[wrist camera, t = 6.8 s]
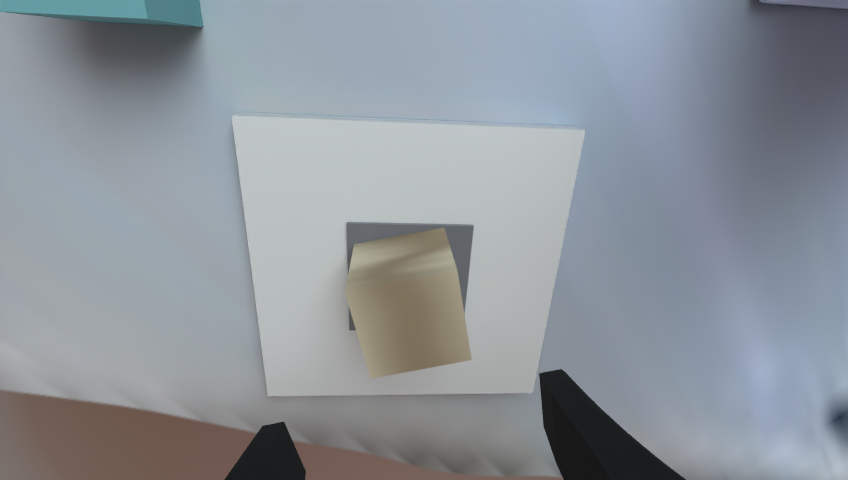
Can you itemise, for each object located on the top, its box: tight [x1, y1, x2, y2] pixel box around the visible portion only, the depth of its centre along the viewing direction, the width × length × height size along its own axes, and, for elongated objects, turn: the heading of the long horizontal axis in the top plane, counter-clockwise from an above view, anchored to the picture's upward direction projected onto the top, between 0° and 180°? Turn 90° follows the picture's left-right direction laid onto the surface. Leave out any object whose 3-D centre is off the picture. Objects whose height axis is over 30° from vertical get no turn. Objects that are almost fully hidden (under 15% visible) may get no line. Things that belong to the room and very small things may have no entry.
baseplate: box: [232, 112, 586, 396], centre depth 20 cm, size 14×14×1 cm
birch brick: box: [345, 227, 472, 379], centre depth 17 cm, size 4×4×4 cm
